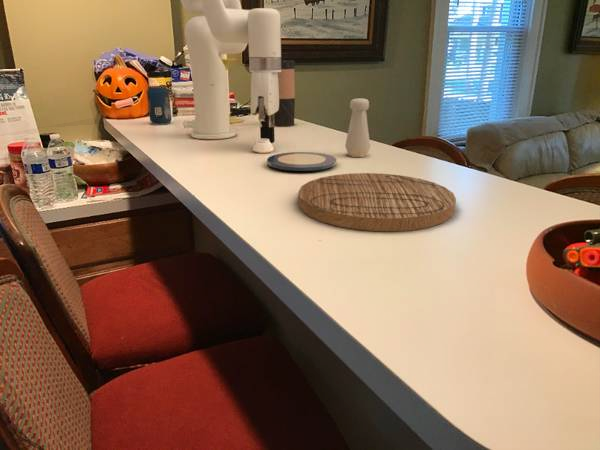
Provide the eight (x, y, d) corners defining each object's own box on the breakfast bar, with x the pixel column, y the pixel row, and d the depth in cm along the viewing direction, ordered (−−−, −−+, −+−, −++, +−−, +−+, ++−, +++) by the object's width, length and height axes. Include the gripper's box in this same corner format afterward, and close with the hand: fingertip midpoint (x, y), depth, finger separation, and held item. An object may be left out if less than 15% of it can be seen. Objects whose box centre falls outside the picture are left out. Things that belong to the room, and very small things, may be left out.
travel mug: (294, 126, 151) (294, 60, 144) (271, 126, 151) (269, 60, 144) (295, 123, 158) (294, 60, 151) (272, 123, 158) (271, 60, 151)
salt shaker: (368, 158, 108) (371, 100, 103) (343, 157, 109) (345, 99, 104) (370, 153, 113) (373, 97, 108) (346, 152, 114) (348, 97, 110)
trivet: (300, 182, 89) (300, 172, 88) (433, 183, 88) (434, 173, 87) (295, 230, 65) (295, 217, 65) (476, 232, 65) (478, 219, 64)
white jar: (276, 150, 117) (257, 148, 118) (276, 138, 116) (257, 137, 117) (269, 154, 112) (250, 152, 114) (269, 141, 111) (249, 140, 113)
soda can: (152, 122, 161) (148, 85, 156) (173, 121, 161) (169, 85, 157) (148, 125, 154) (144, 87, 150) (170, 124, 155) (166, 87, 151)
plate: (258, 171, 97) (258, 165, 96) (276, 156, 110) (276, 150, 110) (331, 175, 94) (331, 168, 93) (340, 159, 107) (340, 153, 107)
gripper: (258, 64, 119) (261, 137, 125) (240, 66, 105) (244, 148, 112) (287, 64, 118) (288, 138, 124) (273, 66, 104) (275, 149, 110)
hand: (267, 142), depth 118 cm, fingers closed
